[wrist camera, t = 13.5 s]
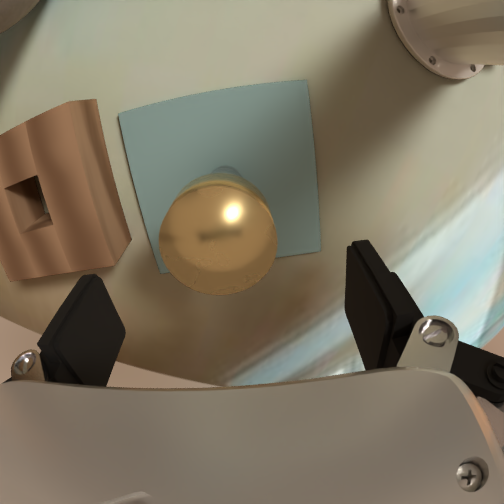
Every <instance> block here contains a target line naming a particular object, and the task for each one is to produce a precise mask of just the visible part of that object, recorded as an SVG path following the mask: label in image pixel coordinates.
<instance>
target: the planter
mask: <svg viewBox="0 0 504 504" xmlns="http://www.w3.org/2000/svg"><path fill="white" fill-rule="evenodd" d="M39 1H40V0H0V33H2V32H4V31H6V30H7V29H9V28H10V27H12V26H13V25H15V24H16V23H17V22H19V21H20V20H21V19H22V18H23V17H24V16H26V15H27V14H28V13H29V12H30V11H31V10H32V9H33V8H34V7H35V6H36V4H37V3H38V2H39Z"/></svg>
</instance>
